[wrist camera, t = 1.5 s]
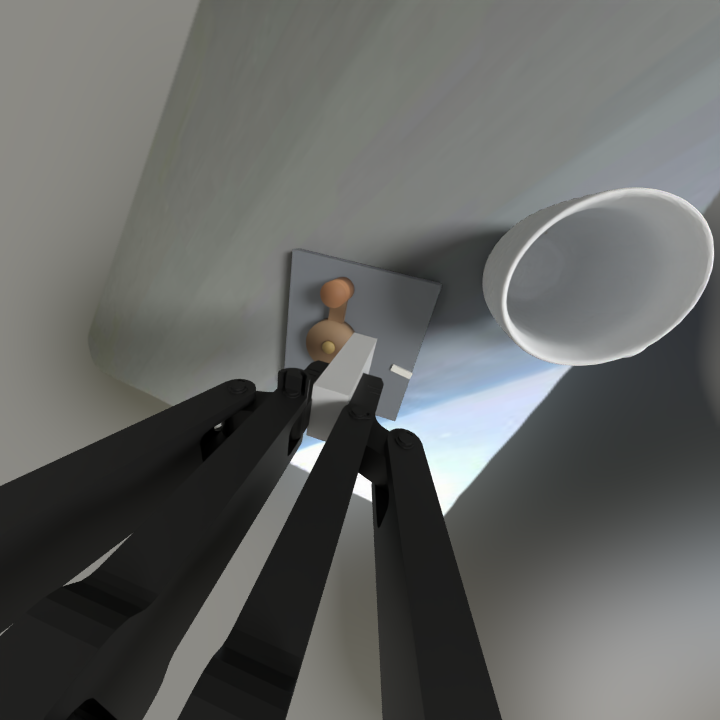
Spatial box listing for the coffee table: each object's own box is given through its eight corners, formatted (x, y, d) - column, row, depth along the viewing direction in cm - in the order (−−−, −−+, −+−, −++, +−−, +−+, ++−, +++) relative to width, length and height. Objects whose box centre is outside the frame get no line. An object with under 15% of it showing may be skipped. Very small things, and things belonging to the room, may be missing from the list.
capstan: (319, 270, 30) (305, 274, 27) (371, 283, 30) (363, 289, 26) (305, 387, 38) (293, 402, 35) (345, 400, 38) (337, 416, 34)
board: (300, 248, 32) (291, 249, 30) (441, 283, 30) (442, 286, 28) (289, 379, 41) (282, 386, 39) (397, 413, 39) (395, 422, 37)
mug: (638, 285, 26) (808, 322, 14) (538, 357, 31) (605, 426, 20) (536, 183, 24) (634, 133, 13) (449, 276, 30) (464, 299, 18)
